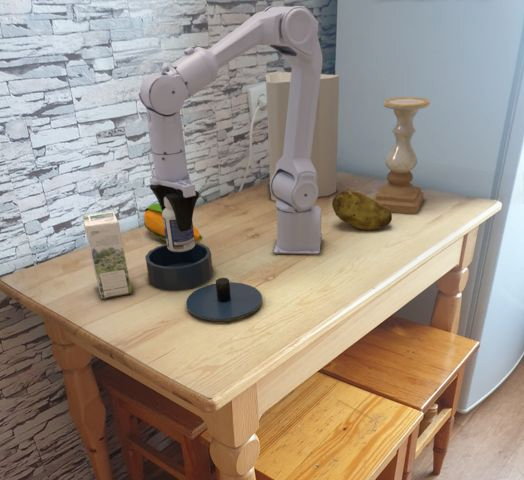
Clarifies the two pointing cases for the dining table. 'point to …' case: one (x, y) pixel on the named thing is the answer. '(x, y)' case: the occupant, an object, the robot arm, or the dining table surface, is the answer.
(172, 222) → the pill bottle
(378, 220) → the potato
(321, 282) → the dining table surface
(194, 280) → the pot
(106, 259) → the syrup box
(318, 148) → the paper bag
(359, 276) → the dining table surface
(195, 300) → the lid
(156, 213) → the corn
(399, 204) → the candle holder
